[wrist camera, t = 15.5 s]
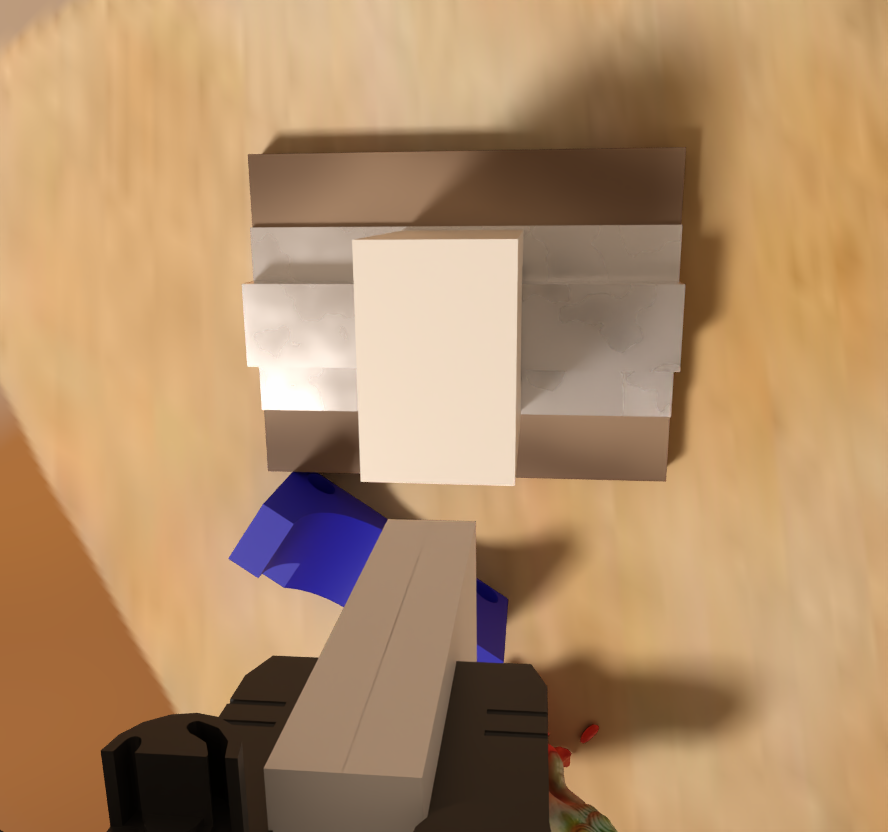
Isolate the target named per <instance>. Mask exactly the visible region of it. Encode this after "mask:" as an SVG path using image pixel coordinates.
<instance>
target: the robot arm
mask: <svg viewBox="0 0 888 832" xmlns="http://www.w3.org/2000/svg"><path fill="white" fill-rule="evenodd" d="M101 757H102V764H103V772H104V780H105V787H106V794H107V803H108V811H109V818H110V826H111V827H110V828H109V829H108V831H107V832H551V828H550V823H549V766H548V701H547V686H546V684H545V683H544V681H543V680H542V679H541V677H540V676H539V675H538V673H537V672H536V670H535V669H534V668H533V666H532V665H531V664H512V663H489V662H477V617H476V521H444V520H404V519H388V520H387V522H386V524H385V526H384V528H383V530H382V532H381V534H380V536H379V538H378V540H377V542H376V544H375V546H374V548H373V550H372V552H371V554H370V556H369V558H368V560H367V562H366V564H365V566H364V568H363V570H362V572H361V574H360V576H359V578H358V580H357V582H356V584H355V586H354V588H353V590H352V592H351V594H350V596H349V598H348V600H347V602H346V604H345V606H344V608H343V610H342V612H341V614H340V616H339V618H338V620H337V622H336V624H335V626H334V628H333V630H332V632H331V634H330V636H329V638H328V640H327V642H326V644H325V646H324V648H323V650H322V652H321V654H320V656H319V658H313V657H291V656H272V657H271V658H269V659H268V660H266V661H265V662H263V663H262V664H261V665H259V666H258V667H256V668H255V669H254V670H252V671H251V672H249V673H248V674H247V675H245V677H244V678H243V680H242V681H241V683H240V685H239V686H238V688H237V689H236V691H235V692H234V694H233V696H232V697H231V699H230V704H227V705H226V707H225V708H224V710H223V711H222V713H221V714H220V716H219V717H216V716H210V715H205V714H200V713H189V714H173V715H168V716H164V717H160V718H157V719H153V720H150V721H146V722H143V723H141V724H139V725H137V726H135V727H133V728H131V729H129V730H127V731H125V732H123V733H121V734H119V735H118V736H117V737H116V738H115V739H113V740H112V741H111V742H110V743H109V744H108V745H107V746H106V747H104V748H103V749H102V750H101ZM0 832H3V831H1V830H0Z"/></svg>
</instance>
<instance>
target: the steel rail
mask: <svg viewBox="0 0 888 832" xmlns="http://www.w3.org/2000/svg"><path fill="white" fill-rule="evenodd" d="M682 226H683V225H546V226H394V227H252V228H250V232H251V247H252V263H253V278H254V281H251V282H247V283H244V284H242V295H243V310H244V324H245V339H246V353H247V367H259V371H260V386H261V402H262V410H309V411H358V393H357V365H356V337H355V308H354V280H353V252H352V240H354V239H359V238H365V237H370V236H375V235H381V234H386V233H391V232H397V231H402V230H522V229H524V237H523V266H522V327H521V414H533V415H589V416H644V417H671V408H672V392H673V375H674V372H680V364H681V348H682V332H683V316H684V300H685V284H684V283H682V282H680V281H679V275H680V259H681V242H682Z"/></svg>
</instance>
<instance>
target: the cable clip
mask: <svg viewBox="0 0 888 832" xmlns="http://www.w3.org/2000/svg"><path fill="white" fill-rule="evenodd" d="M387 520H388V519H387V518H385V517H384V516H382V515H381V514H379V513H378V512H376V511H375V510H373V509H372V508H370V507H369V506H367V505H366V504H364V503H363V502H361V501H359V500H358V499H356V498H355V497H353V496H352V495H350V494H349V493H347V492H346V491H344V490H343V489H341V488H340V487H338V486H337V485H335V484H334V483H332V482H331V481H329V480H328V479H326V478H325V477H323V476H322V475H320V474H319V473H317V472H292V473H291V474H290V475H289V477H288V478H287V479H286V480H285V481H284V482H283V483H282V484H281V485H280V486H279V487H278V489H277V490H276V491H275V492H274V493H273V494H272V495H271V496H270V497H269V498H268V499H267V501H266V502H265V503H264V504H263V505H262V507H261V508H260V510H259V512H258V513H257V515H256V516H255V518H254V519H253V521H252V522H251V524H250V526H249V527H248V529H247V530H246V532H245V533H244V535H243V536H242V538H241V540H240V541H239V543H238V544H237V546H236V547H235V549H234V550H233V552H232V554H231V555H230V557H229V558H228V559H230V560H231V561H233V562H234V563H236V564H237V565H239V566H240V567H242V568H243V569H245V570H247V571H248V572H250V573H251V574H253V575H254V576H256V577H257V578H259V577H260V576H261V574H264V575H265V576H267V577H268V578H270V579H271V580H273V581H275V582H276V583H278V584H279V585H281V586H282V587H284V588H292V589H298V590H303V591H307V592H311V593H314V594H317V595H319V596H322V597H324V598H327V599H329V600H331V601H333V602H335V603H337V604H339V605H341V606H342V607H344V606H345V604H346V602H347V600H348V598H349V596H350V594H351V592H352V590H353V588H354V586H355V584H356V582H357V580H358V578H359V576H360V574H361V572H362V570H363V568H364V566H365V564H366V562H367V560H368V558H369V556H370V554H371V552H372V550H373V548H374V546H375V544H376V542H377V540H378V538H379V536H380V534H381V532H382V530H383V528H384V526H385V524H386V522H387ZM507 609H508V599H507V598H506V597H504V596H503V595H501V594H500V593H498V592H497V591H495V590H494V589H492V588H491V587H489V586H488V585H486V584H485V583H483V582H482V581H480V580H479V579H477V578H476V617H477V662H489V663H503V662H504V651H505V637H506V623H507Z"/></svg>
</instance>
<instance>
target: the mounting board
mask: <svg viewBox="0 0 888 832" xmlns="http://www.w3.org/2000/svg"><path fill="white" fill-rule="evenodd" d="M685 155H686V147H671V148H610V149H549V150H488V151H427V152H366V153H305V154H248V164H249V180H250V195H251V211H252V227H394V226H546V225H681V221H682V205H683V188H684V171H685ZM264 414H265V430H266V445H267V461H268V471H285V472H323V473H360V449H359V421H358V411H309V410H264ZM669 422H670V417H644V416H589V415H533V414H521V417H520V430H519V442H518V454H517V467H516V478H553V479H591V480H630V481H666V472H667V455H668V439H669Z"/></svg>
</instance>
